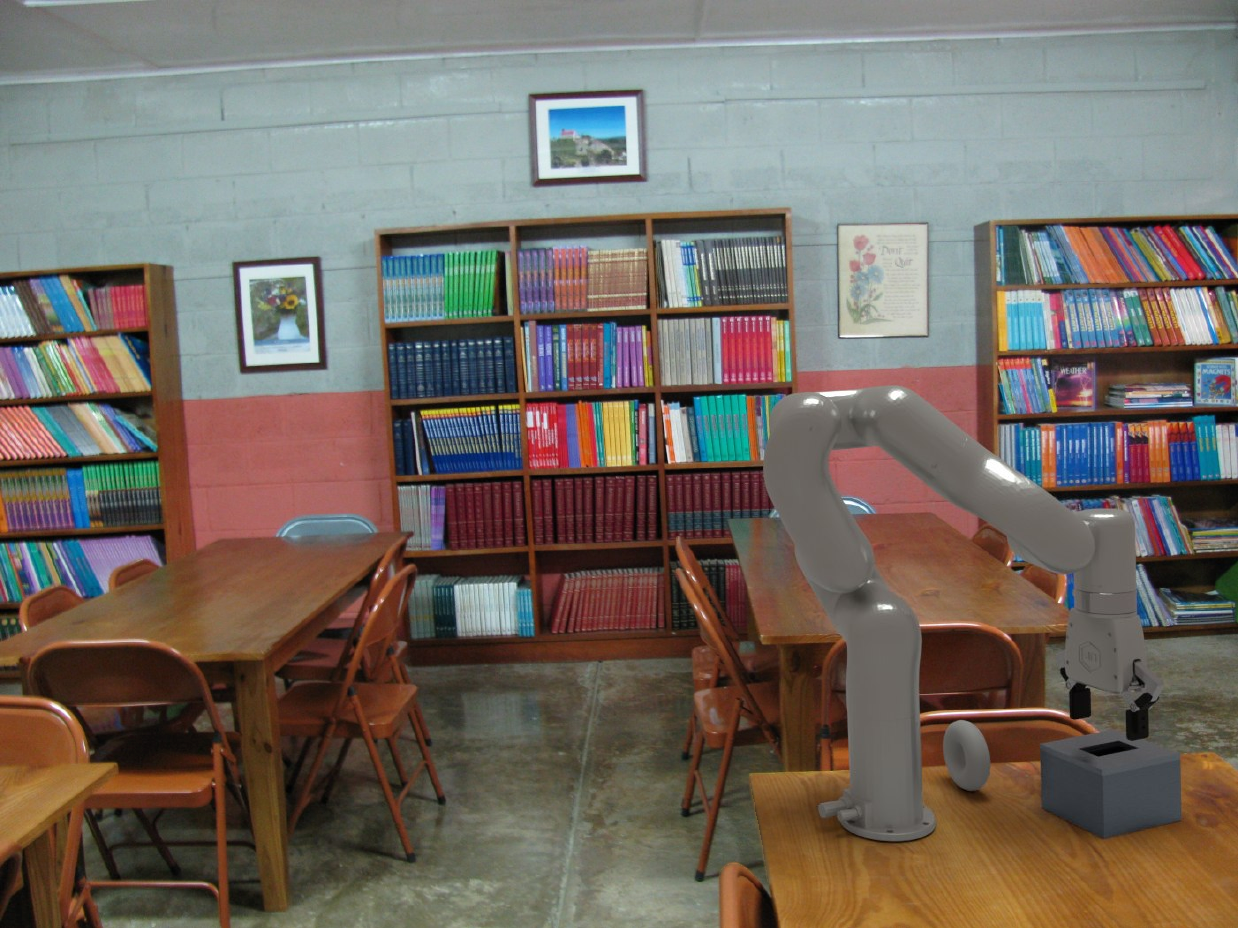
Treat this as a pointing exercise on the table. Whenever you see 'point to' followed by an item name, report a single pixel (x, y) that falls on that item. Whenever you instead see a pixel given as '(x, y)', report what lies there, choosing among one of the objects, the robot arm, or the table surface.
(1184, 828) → the table surface
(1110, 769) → the box
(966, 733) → the donut
